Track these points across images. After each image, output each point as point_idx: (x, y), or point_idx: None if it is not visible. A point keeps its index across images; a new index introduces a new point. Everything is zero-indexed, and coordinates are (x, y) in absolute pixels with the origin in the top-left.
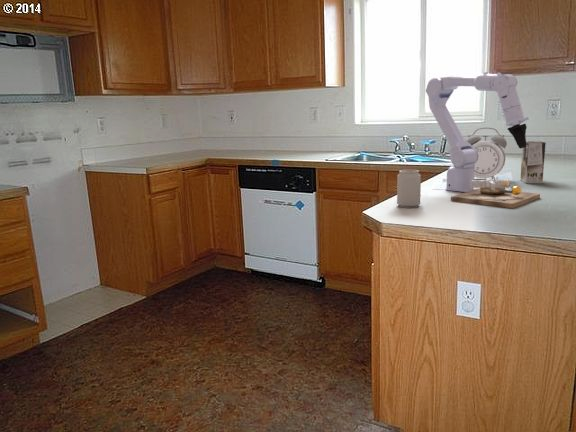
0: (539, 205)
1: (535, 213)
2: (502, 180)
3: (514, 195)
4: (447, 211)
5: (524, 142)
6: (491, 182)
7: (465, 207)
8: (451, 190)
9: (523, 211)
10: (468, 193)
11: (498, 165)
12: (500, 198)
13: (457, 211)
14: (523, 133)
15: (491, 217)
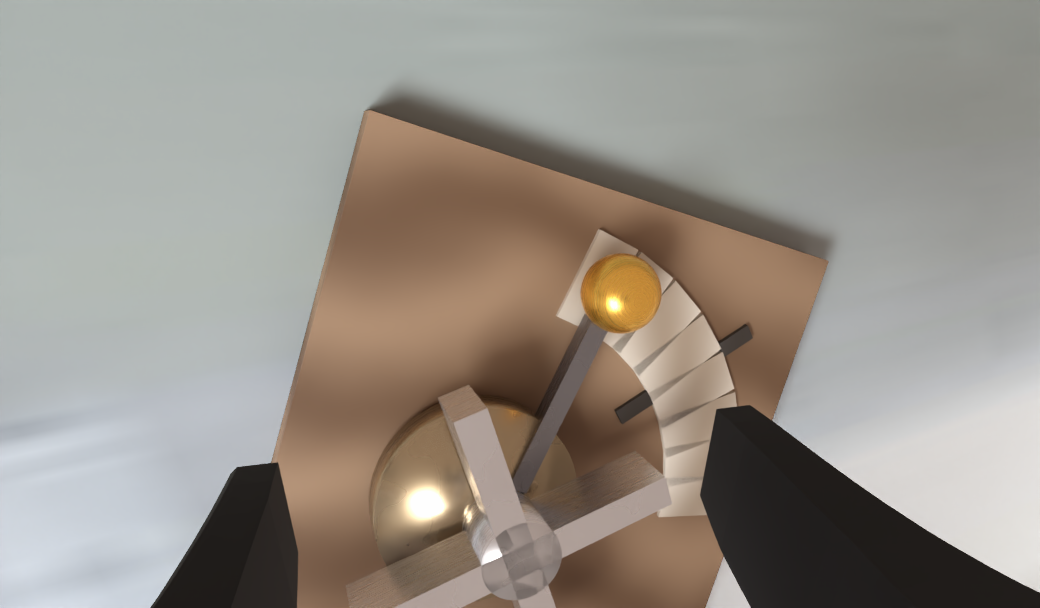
0: (671, 96)
1: (904, 106)
2: (493, 466)
3: (528, 305)
4: None
5: (792, 449)
6: (628, 517)
7: None
8: None
9: (867, 180)
10: None
11: None
12: (698, 370)
13: (922, 507)
14: (973, 579)
15: (1017, 316)
